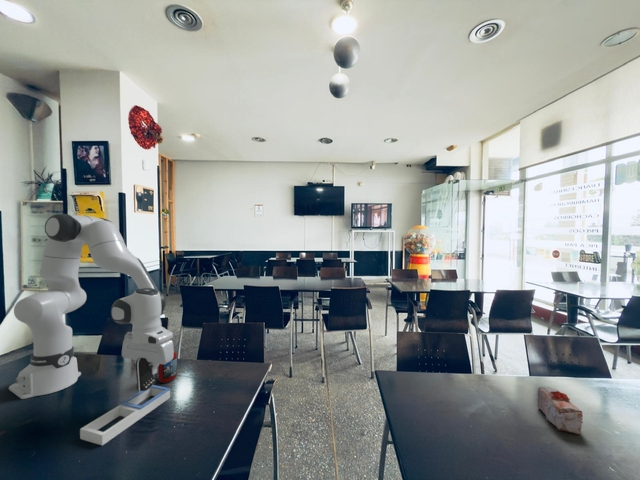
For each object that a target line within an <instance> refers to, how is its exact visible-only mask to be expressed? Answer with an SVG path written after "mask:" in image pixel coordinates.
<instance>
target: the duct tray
mask: <svg viewBox="0 0 640 480" xmlns="http://www.w3.org/2000/svg"><path fill="white" fill-rule="evenodd" d="M151 396H152V398H151V399H149V400H148V401H146V402H145V403H143V404H142V405H140V403H142V402H143V401H145V400H147V399H148V398H150V397H151ZM170 398H171V388H170V387H165V386H159V385H155V384H153V385H152V386H151V387H150V388H149V389H147V390H145V391H140V392H139V391H137V393H135V394H133V395H131V396H130V397H129V398H127V399H125V400H123V401H122V402H120V403H119V405H117V406H115V407H114V408H112V409H111V410H109V411H107V412H106V413H104V414H103V415H101V416H99V417H97V418H96V419H94V420H93V421H91V422H89V423H88V424H86V425H84V426H83V427H81V428H79V436H80V437H79V439H80V440H82V441H85V442H90V443H93V444H96V445H100V446H105V444H107V443H108V442H110V441H111V440H112V439H113V438H115V437H117V436H118V435H119V434H121V433H122V432H123V431H125V430H126V429H128V428H129V427H131V426H132V425H134V424H135V423H136V422H138V421H139V420H141V419H142V418H144V417H145V416H146V415H148V414H149V413H151V412H152V411H153V410H155V409H156V408H158V407H159V406H161V405H162V404H163V403H164V402H166V401H168V400H169V399H170ZM119 417H123V419H121V420H119V421H118V422H117V423H115V424H113V425H112V426H111V427H109V428H107V429H106V430H104V431H101V430H100V429H102V428H103V427H104V426H106V425H108V424H109V423H110V422H112V421H115V419H117V418H119Z"/></svg>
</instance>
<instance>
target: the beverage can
mask: <svg viewBox="0 0 640 480" xmlns="http://www.w3.org/2000/svg"><path fill="white" fill-rule="evenodd" d="M177 357H178V354H177V352H176V349H174V356H173V359H172V360H171V361H170V362H168V363H167V364H159V366H158V368H157V373H158V374H157V375H158V378H157V379H158V381H159V382H161V383H163V384H164V383H169V382H172V381H173V380H174V379H176V378H177V373H178V372H177V371H178V370H177V366H178V361H177V359H178V358H177Z"/></svg>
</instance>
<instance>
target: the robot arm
mask: <svg viewBox="0 0 640 480" xmlns="http://www.w3.org/2000/svg"><path fill="white" fill-rule="evenodd" d="M44 232H45V234H46V235H47V240H46V243H45V247H44V249H43V254H42V259H41V265H40V269H39V274H40V277H42V279H44V280H46V283H47V286H48V287H47V290H46V291H41V292H37V293H33V294H31V295H28V296H26V297H24V298H22V299H19V301H17V302H16V304H15V305H14V307H13V308H14V309H13V314H14V316H15V319H16V320H18V322H21V323H23V324H26V326H28V328H29V330H30V331H31V334H32V339H33V340H32V341H33V343H32V344H33V353H32V354H30V361H29V364H28V365H27V366H26V367H25V368H23V369H22V370H21V371H19V373H18V376H17V377H16V378H15V383H12V384H11V385H9V387H8V390H9V391H10V392H12V393H13V394H14V395H16V396H17V397H18V398H19V399H21V400H26V399H30V398H33V397H38V396H44V395H45V396H46V395H48V394H52V393H56V392H59V391H61V390H64V389H66V388H69V387H71V386H72V385H74V384H75V383H76V382H77V381H78V378H79V377H80V376H81V375H82V372H81V371H79V370H78V360H77V357H75V347H74V346H73V328H72V327H71V326H69V325H67V324H66V323H65V322H64V317H63V315H65V314H68V313H71V312H74V311H76V310H77V309H79V308H81V307H82V306H83V305H84V304H86V301H87V293H86V291H85V290H84V289H83V288H82V287H81V284H80V282H79V270H80V265H81V264H80V263H81V258H82V252H83V251H82V250H83V247H84V245H85V244H87V247H88V251H89V254H90V256H91V259H92V261H93V263H94V264H95V265H96V266H97V267H99V268H101V269H103V270H106V271H109V272H110V271H111V272H116V273H120V274H124V275H127V276H129V277H130V278H131V279H132V280H133V281H134V284H135V285H136V286H137V288H138V289H136V290H134V292H132V294H129V295H127V296H125V297H122V298H119V299H116V300H115V301H114V302H113V304H112V306H111V307H110V317H111V320H112V321H114V322H115V323H116V324H119V325H127V324H131V325H132V327H131V328H132V329H131V331H128V332H126V333H125V334H124V339H123V341H122V349H121V356H122V357H123V359H129V360H133V363H134V364H135V366H136V361H137V359H138V358H140V357H141V358H146V359H147V361H148V362H152V365H153V368H151V369H150V374H153V375H156V374H157V373H158V366H159V364H167V363H168V362H170V361H171V360H172V359H173V356H174V350H175V349H174V347H175V346H174V342H173V340H172V339H173V338H174V333H173V332H172V331H170V330H168V329H166V327H163V326H162V319H161V315H162V313H163V312H164V311H165V308H166V306H167V300H166V297H165V296H164V294H163V293H162V291H160V289H158V286H157V285H156V283H155V282H154V280H153V278H152V276H151V275H150V273H149V271H148V270H147V268H146V266H145V265H144V263H143V261H141V259H140V258H138V257H137V256H135V255H134V254H133V253H132V252H131V251H130V250H129V248H128V247H127V245H126V243H125V240H124V238H123V236H122V234H121V232H120V231H119V229H118V227H117V226H116V225H115V223H113V221H111V220H110V219H106V218H103V217H96V216H93V215H81V214H79V215H78V214H68V213H57V214H52V215H51V216H50V217H48V218H47V220H46V221H45V224H44Z"/></svg>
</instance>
